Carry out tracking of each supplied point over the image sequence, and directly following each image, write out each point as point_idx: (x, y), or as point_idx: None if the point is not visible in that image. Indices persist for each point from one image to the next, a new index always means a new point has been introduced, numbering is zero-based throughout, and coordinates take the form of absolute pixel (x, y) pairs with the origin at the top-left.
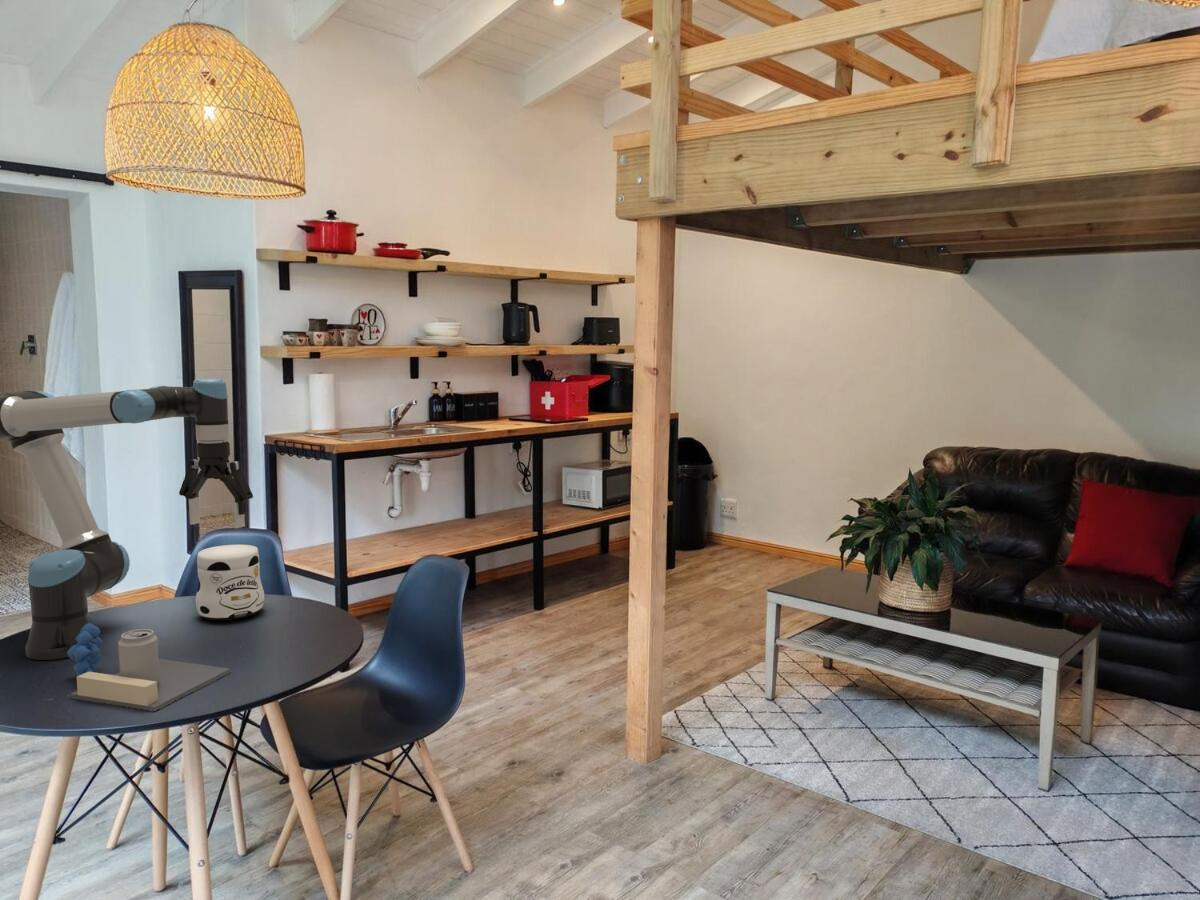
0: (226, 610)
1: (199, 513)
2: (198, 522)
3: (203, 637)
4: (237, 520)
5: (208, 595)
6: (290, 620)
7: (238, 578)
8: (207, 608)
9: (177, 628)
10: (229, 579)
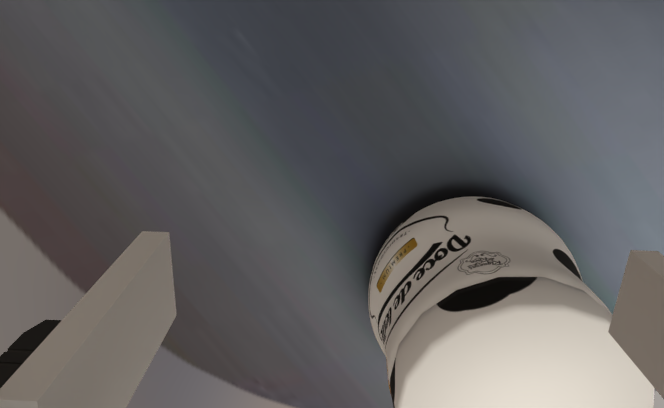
0: (422, 214)
1: (655, 384)
2: (615, 317)
3: (412, 80)
4: (112, 269)
5: (497, 226)
6: (262, 274)
7: (409, 299)
8: (486, 202)
9: (546, 129)
10: (433, 278)
